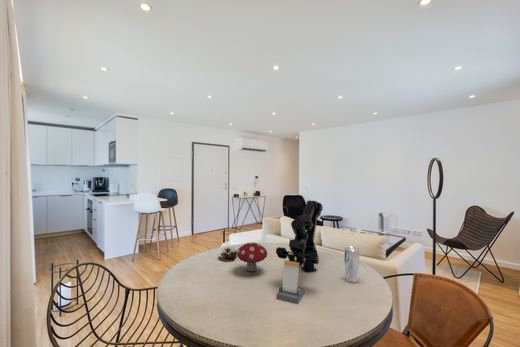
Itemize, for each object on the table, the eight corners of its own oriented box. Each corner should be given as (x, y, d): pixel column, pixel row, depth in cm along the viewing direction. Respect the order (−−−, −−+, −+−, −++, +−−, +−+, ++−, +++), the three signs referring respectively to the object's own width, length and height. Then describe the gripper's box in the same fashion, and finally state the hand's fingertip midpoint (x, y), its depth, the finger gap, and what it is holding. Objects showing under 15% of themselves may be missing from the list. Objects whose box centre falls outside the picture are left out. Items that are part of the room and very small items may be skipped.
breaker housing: (284, 288, 107) (284, 279, 107) (304, 292, 103) (304, 283, 103) (276, 298, 98) (276, 288, 98) (298, 303, 94) (298, 293, 94)
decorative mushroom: (273, 271, 125) (273, 242, 125) (251, 281, 114) (252, 249, 114) (251, 263, 136) (251, 236, 136) (229, 271, 124) (230, 242, 124)
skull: (214, 259, 139) (218, 243, 146) (219, 266, 146) (224, 250, 153) (233, 260, 136) (237, 244, 143) (238, 268, 143) (241, 251, 150)
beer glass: (360, 283, 112) (360, 251, 112) (344, 282, 113) (345, 250, 113) (357, 277, 119) (357, 247, 119) (342, 276, 120) (343, 246, 120)
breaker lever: (283, 290, 101) (285, 260, 104) (297, 293, 98) (299, 262, 101) (281, 291, 99) (284, 260, 102) (295, 294, 97) (298, 263, 99)
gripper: (277, 229, 112) (267, 261, 102) (317, 234, 104) (311, 268, 94) (282, 242, 119) (274, 272, 109) (321, 247, 111) (315, 281, 101)
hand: (292, 273), depth 103 cm, fingers closed
